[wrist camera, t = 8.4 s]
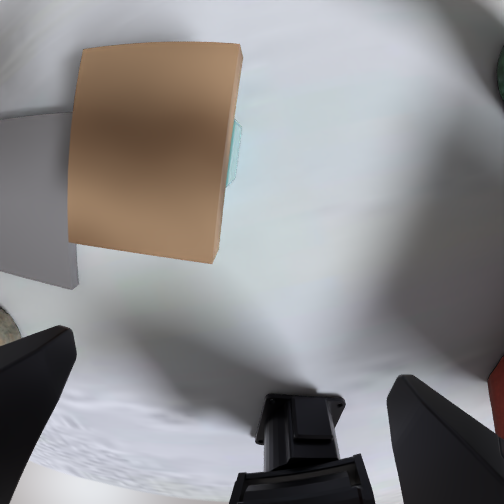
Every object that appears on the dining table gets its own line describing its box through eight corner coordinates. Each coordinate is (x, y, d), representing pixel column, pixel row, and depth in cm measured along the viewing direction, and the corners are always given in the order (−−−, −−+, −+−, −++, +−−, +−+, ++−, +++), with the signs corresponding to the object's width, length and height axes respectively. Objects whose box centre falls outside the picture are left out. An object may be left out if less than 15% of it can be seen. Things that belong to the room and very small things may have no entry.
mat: (78, 284, 20) (72, 289, 19) (-7, 262, 20) (-14, 266, 19) (80, 112, 17) (72, 111, 16) (-11, 122, 16) (-19, 122, 16)
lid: (218, 248, 15) (212, 264, 13) (88, 231, 15) (68, 242, 13) (242, 57, 12) (239, 44, 10) (103, 58, 12) (83, 49, 10)
